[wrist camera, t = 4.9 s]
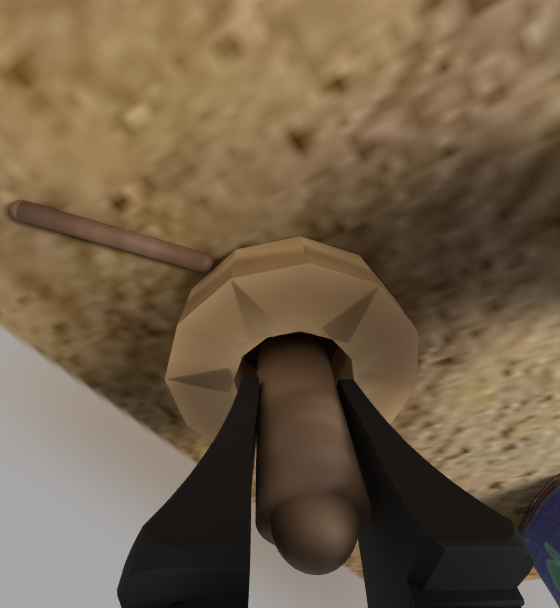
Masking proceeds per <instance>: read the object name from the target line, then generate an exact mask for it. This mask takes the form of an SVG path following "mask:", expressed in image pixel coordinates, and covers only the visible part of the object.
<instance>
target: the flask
mask: <svg viewBox="0 0 560 608" xmlns="http://www.w3.org/2000/svg"><path fill="white" fill-rule="evenodd" d="M528 511H529V512H528V513H527V514H526V515H525V517H524V519H523V521H522V523H521V525H520V527H519V530H518V531H519V533H520V534H521V536H522V538H523V539H524V541H525V543H526V544H527V546H528V548H529V549H530V551H531V553H532V554H533V556H534V565H533V566H534V567H535V569H536V571H537V572H538V574H539V575H540V577H541V579H542V580H543V582H544V583H545V585H546V586H547V588H548V589H549V591H550V593H551V594H552V596H553V598H554V599H555V601H556V602H557V604H558V606H559V608H560V476H558V477H556V478H554V479H553V480H552V481H551V482H549V484H547V485H546V487H545V488H544V489H543V491H542V492H540V494H539V495H538V497H537V498H536V499H534V501H533V502H532V505H531V507H530V508H529V510H528Z"/></svg>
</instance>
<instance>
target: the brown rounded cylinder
mask: <svg viewBox="0 0 560 608" xmlns="http://www.w3.org/2000/svg"><path fill="white" fill-rule="evenodd" d="M257 378H259V405H258V415H257V441H256V527H257V530H258V532H259V533H260V535H261V536H262V537H263V538H264V539H266V540H267V541H268V542H270V543H272V544H274V545H276V547H277V549H278V551H279V553H280V554H281V555H282V557H283V558H284V559H285V560H286V561H287V562H288V563H289V564H290V565H291V566H292V567H294V568H295V569H297V570H299V571H301V572H303V573H306V574H311V575H323V574H327V573H330V572H332V571H334V570H336V569H338V568H339V567H340V566H342V565H343V564H344V563H345V562H346V561H347V559H348V558H349V557H350V555H351V553H352V552H353V550H354V547H355V544H356V541H357V537H358V535H359V534H360V533H361V532H362V531H363V530H364V529H365V528H366V526H367V525H368V523H369V521H370V519H371V515H372V509H371V505H370V501H369V498H368V494H367V491H366V487H365V484H364V480H363V477H362V473H361V470H360V466H359V463H358V459H357V456H356V453H355V449H354V446H353V442H352V439H351V435H350V432H349V428H348V425H347V421H346V418H345V414H344V411H343V407H342V404H341V400H340V397H339V393H338V390H337V386H336V383H335V379H334V376H333V372H332V369H331V365H330V362H329V358H328V355H327V352H326V349H325V347H324V345H323V344H322V343H321V342H320V341H319V340H318V339H317V338H315V337H313V336H311V335H309V334H306V333H302V332H293V333H288V334H283V335H278V336H275V337H273V338H271V339H270V340H269V341H267V342H266V343H265V344H264V346H263V347H262V348H261V350H260V352H259V355H258V361H257Z"/></svg>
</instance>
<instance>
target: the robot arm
mask: <svg viewBox="0 0 560 608" xmlns="http://www.w3.org/2000/svg"><path fill="white" fill-rule="evenodd" d="M337 390H338V393H339V397H340V400H341V404H342V407H343V411H344V414H345V418H346V421H347V425H348V428H349V432H350V435H351V439H352V442H353V446H354V449H355V453H356V456H357V459H358V463H359V466H360V470H361V473H362V477H363V480H364V484H365V487H366V491H367V494H368V498H369V501H370V505H371V509H372V515H371V519H370V521H369V523H368V525H367V526H366V528H365V529H364V530H363V531H362V532H361V533H360V534H359V535H358V542H359V548H360V554H361V561H362V567H363V574H364V581H365V588H366V595H367V603H368V608H521V606H523V605H524V599H523V597H522V596H521V594H520V592H519V590H518V588H517V586H518V585H519V584H520V583H521V582H522V581H523V580H524V578H525V577H526V576H527V575H528V574H529V573H530V571H531V569H532V568H533V565H534V556H533V554H532V553H531V551H530V549H529V548H528V546H527V544H526V543H525V541H524V539H523V538H522V536H521V534H520V533H519V531H518V530H517V528H516V527H515V526H514V524H513V523H512V521H510V520H509V519H507V518H506V517H504V516H502V515H501V514H499V513H498V512H496V511H494V510H493V509H491V508H490V507H488V506H487V505H485V504H483V503H482V502H480V501H479V500H477V499H476V498H474V497H473V496H472V495H470V494H469V493H467V492H466V491H464V490H463V489H462V488H460V487H459V486H457V485H456V484H455V483H453V482H452V481H451V480H449V479H448V478H447V477H446V476H444V475H443V474H442V473H441V472H439V471H438V470H437V469H436V468H434V467H433V466H432V465H431V464H430V463H429V462H427V461H426V460H425V459H424V458H423V457H422V456H421V455H420V454H418V453H417V452H416V451H415V450H414V449H413V448H412V447H411V446H410V445H409V444H408V443H407V442H406V441H405V440H404V439H403V438H402V437H401V436H400V435H399V434H398V433H397V432H396V431H395V430H394V429H393V427H392V426H391V425H390V424H389V423H388V422H387V421H386V419H385V418H384V417H383V416H382V415H381V414H380V412H379V411H378V410H377V409H376V408H375V406H374V405H373V404H372V403H371V401H370V400H369V399H368V397H367V396H366V395H365V394H364V392H363V391H362V390H361V388H360V387H359V386H358V384H357V383H356V382H355V381H354V380H353V379H338V384H337ZM258 405H259V378H257V377H243V378H242V379H241V381H240V385H239V389H238V392H237V395H236V397H235V400H234V402H233V405H232V407H231V409H230V411H229V413H228V415H227V417H226V419H225V421H224V423H223V425H222V427H221V429H220V430H219V432H218V434H217V436H216V437H215V439H214V441H213V442H212V444H211V445H210V447H209V449H208V450H207V452H206V453H205V455H204V456H203V457H202V459H201V460H200V462H199V463H198V464H197V466H196V467H195V469H194V470H193V471H192V472H191V474H190V475H189V476H188V478H187V479H186V480H185V481H184V483H183V484H182V485H181V486H180V487H179V488H178V489H177V491H176V492H175V493H174V494H173V495H172V496H171V498H170V499H169V500H168V501H167V502H166V503H165V504H164V505H163V506H162V507H161V508H160V509H159V510H158V511H157V512H156V513H155V514H154V515H153V516H152V517H151V518H150V519H149V521H148V522H146V523H145V524H144V526H143V527H142V529H141V531H140V532H139V534H138V536H137V538H136V540H135V542H134V544H133V546H132V548H131V550H130V553H129V555H128V558H127V560H126V562H125V565H124V568H123V572H122V575H121V578H120V581H119V585H118V588H117V596H118V599H119V601H120V605H121V607H122V608H248V597H249V576H250V542H251V486H252V477H253V469H254V460H255V451H256V441H257V415H258Z"/></svg>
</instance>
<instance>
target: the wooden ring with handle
mask: <svg viewBox="0 0 560 608" xmlns="http://www.w3.org/2000/svg"><path fill="white" fill-rule="evenodd" d="M10 213H11V215H12V216H13V217H14V218H15V219H17V220H19V221H22V222H26V223H29V224H33V225H36V226H40V227H43V228H47V229H50V230H54V231H58V232H61V233H65V234H68V235H72V236H75V237H79V238H83V239H86V240H90V241H93V242H97V243H100V244H104V245H107V246H111V247H115V248H118V249H122V250H125V251H129V252H132V253H136V254H139V255H143V256H147V257H150V258H154V259H157V260H161V261H164V262H168V263H171V264H175V265H179V266H182V267H186V268H189V269H193V270H196V271H200V272H207V271H209V270H210V269H211V268H212V266H213V260H212V258H211V256H209V255H208V254H206V253H202V252H199V251H195V250H192V249H189V248H185V247H182V246H178V245H175V244H172V243H168V242H165V241H161V240H158V239H154V238H151V237H148V236H144V235H141V234H137V233H134V232H130V231H127V230H124V229H120V228H117V227H113V226H110V225H107V224H103V223H100V222H96V221H93V220H89V219H86V218H83V217H79V216H76V215H72V214H69V213H66V212H62V211H59V210H55V209H52V208H48V207H45V206H42V205H38V204H35V203H31V202H28V201H24V200H17V201H14V202H13V203H12V204H11V205H10ZM299 331H302V332H306V333H310V334H314V335H318V336H322V337H325V338H329V339H332V340H333V341H334V342H335V343H336V344H337V345H338V348H337V350H336V352H335V353H334V355H333V357H332V359H331V361H330V365H331V369H332V372H333V376H334V379H335V383H336V386H337V384H338V379H353V380H354V381H355V382H356V383H357V384H358V386H359V387H360V388H361V390H362V391H363V392H364V394H365V395H366V396H367V397H368V399H369V400H370V401H371V403H372V404H373V405H374V406H375V408H376V409H377V410H378V411H379V412H380V414H381V415H382V416H383V417H384V418H385V419H386V421H387V422H388V423H389V424H391V422H392V421H393V419H394V418H395V417H396V415H397V414H398V412H399V411H400V409H401V408H402V406H403V405H404V404H405V402H406V401H407V399H408V398H409V396H410V395H411V393H412V392H413V391H414V389H415V388H416V386H417V385H418V331H417V329H416V328H415V326H414V325H413V324H412V322H411V321H410V320H409V318H408V317H407V315H406V314H405V313H404V311H403V310H402V308H401V307H400V306H399V304H398V303H397V302H396V300H395V299H394V297H393V296H392V295H391V294H390V292H389V291H388V290H387V289H386V287H385V286H384V285H383V284H382V282H381V281H380V280H379V279H378V278H377V276H376V275H375V274H374V273H373V271H372V270H371V269H370V268H369V266H368V265H367V264H366V263H365V261H364V260H363V259H362V258H361V256H360V255H357V254H354V253H351V252H348V251H345V250H342V249H339V248H335V247H332V246H329V245H326V244H323V243H320V242H317V241H314V240H311V239H307V238H304V237H301V236H298V237H293V238H289V239H284V240H279V241H274V242H269V243H264V244H259V245H255V246H250V247H245V248H240V249H236V250H234V251H233V252H232V253H231V254H230V255H229V256H228V257H227V258H226V259H224V260H223V261H222V262H221V263H220V264H219V265H218V266H217V267H215V268H214V269H213V270H212V271H211V272H210V273H209V274H208V275H206V276H205V277H204V278H203V279H202V280H201V281H200V282H199V283H198V284H196V285H195V286H194V287H193V288H192V289H191V291H190V294H189V296H188V299H187V302H186V304H185V307H184V309H183V312H182V314H181V317H180V319H179V322H178V324H177V328H176V333H175V337H174V341H173V345H172V350H171V354H170V358H169V363H168V367H167V371H166V375H165V381H166V384H167V386H168V388H169V390H170V392H171V394H172V396H173V398H174V400H175V402H176V404H177V406H178V409H179V411H180V413H181V415H182V417H183V419H184V421H185V423H186V425H187V426H188V427H190V428H191V429H193V430H194V431H196V432H197V433H199V434H200V435H202V436H203V437H205V438H206V439H208V440H209V441H211V442H213V441H214V439H215V437H216V436H217V434H218V432H219V430H220V429H221V427H222V425H223V423H224V421H225V419H226V417H227V415H228V413H229V411H230V409H231V407H232V405H233V402H234V400H235V397H236V395H237V392H238V389H239V385H240V381H241V379H242V378H243V377H257V370H256V369H254V368H253V367H252V366H251V365H250V364H248V363H247V362H246V361H245V360H244V357H243V355H245V354H246V353H247V352H249V351H250V350H251V349H253V348H254V347H255V346H257V345H258V344H259V343H261V342H262V341H263V340H265V339H266V338H267V337H272V336H278V335H283V334H288V333H293V332H299ZM255 459H256V451H255Z"/></svg>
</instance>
